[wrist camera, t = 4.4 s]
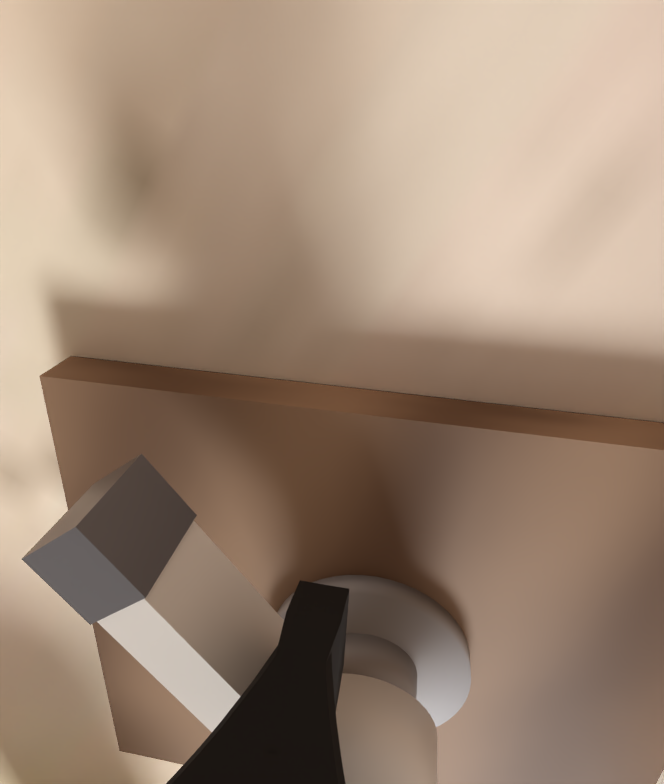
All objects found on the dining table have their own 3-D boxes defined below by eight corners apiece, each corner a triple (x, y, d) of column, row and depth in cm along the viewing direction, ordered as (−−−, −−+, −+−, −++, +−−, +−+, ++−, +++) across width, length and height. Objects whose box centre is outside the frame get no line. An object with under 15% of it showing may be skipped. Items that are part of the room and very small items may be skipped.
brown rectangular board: (783, 436, 11) (887, 531, 9) (606, 814, 18) (636, 936, 15) (70, 356, 14) (-19, 412, 11) (137, 717, 20) (90, 809, 17)
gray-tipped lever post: (184, 426, 10) (100, 524, 7) (467, 758, 13) (474, 911, 10) (60, 504, 11) (-44, 609, 9) (339, 788, 14) (318, 929, 11)
